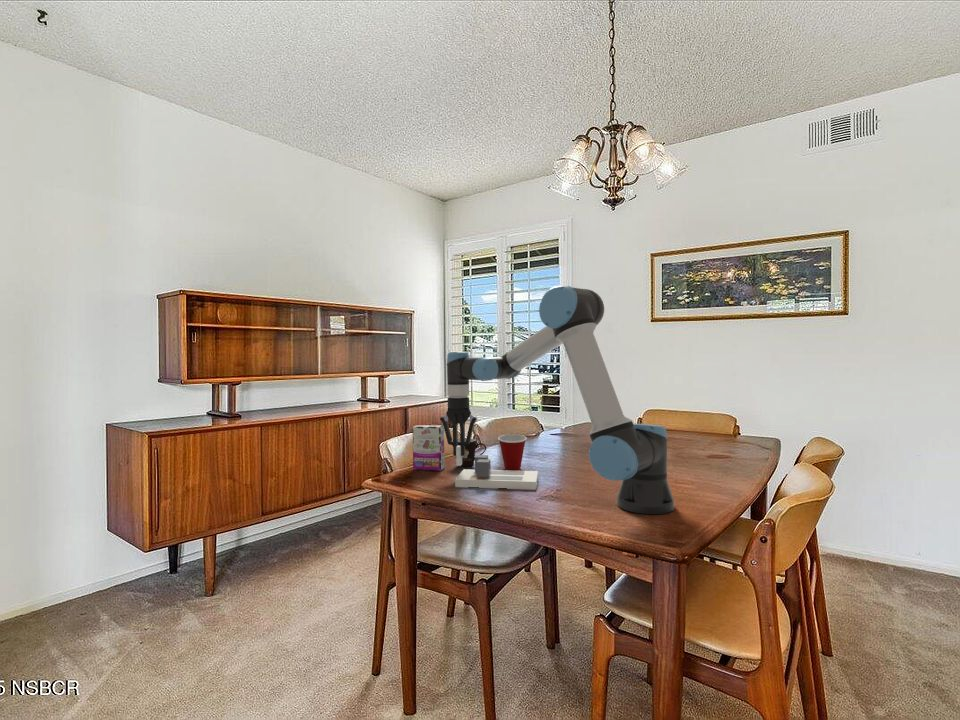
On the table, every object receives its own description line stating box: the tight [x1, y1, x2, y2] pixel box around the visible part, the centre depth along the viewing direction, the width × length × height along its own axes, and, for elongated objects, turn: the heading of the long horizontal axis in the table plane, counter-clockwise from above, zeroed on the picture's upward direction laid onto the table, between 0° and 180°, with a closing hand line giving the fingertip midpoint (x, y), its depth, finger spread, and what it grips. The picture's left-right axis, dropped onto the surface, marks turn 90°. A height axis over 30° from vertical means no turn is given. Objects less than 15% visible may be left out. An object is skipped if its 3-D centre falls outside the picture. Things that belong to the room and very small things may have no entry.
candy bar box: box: [411, 424, 446, 472], centre depth 186 cm, size 11×5×16 cm, turn 76°
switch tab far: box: [474, 454, 489, 472], centre depth 170 cm, size 4×4×5 cm
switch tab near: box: [477, 459, 492, 478], centre depth 163 cm, size 4×4×5 cm
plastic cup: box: [497, 434, 528, 471], centre depth 185 cm, size 11×11×12 cm
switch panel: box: [454, 468, 539, 491], centre depth 166 cm, size 14×26×3 cm, turn 81°
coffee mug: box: [457, 437, 487, 468], centre depth 190 cm, size 12×9×10 cm
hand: (459, 464), depth 171 cm, fingers closed
